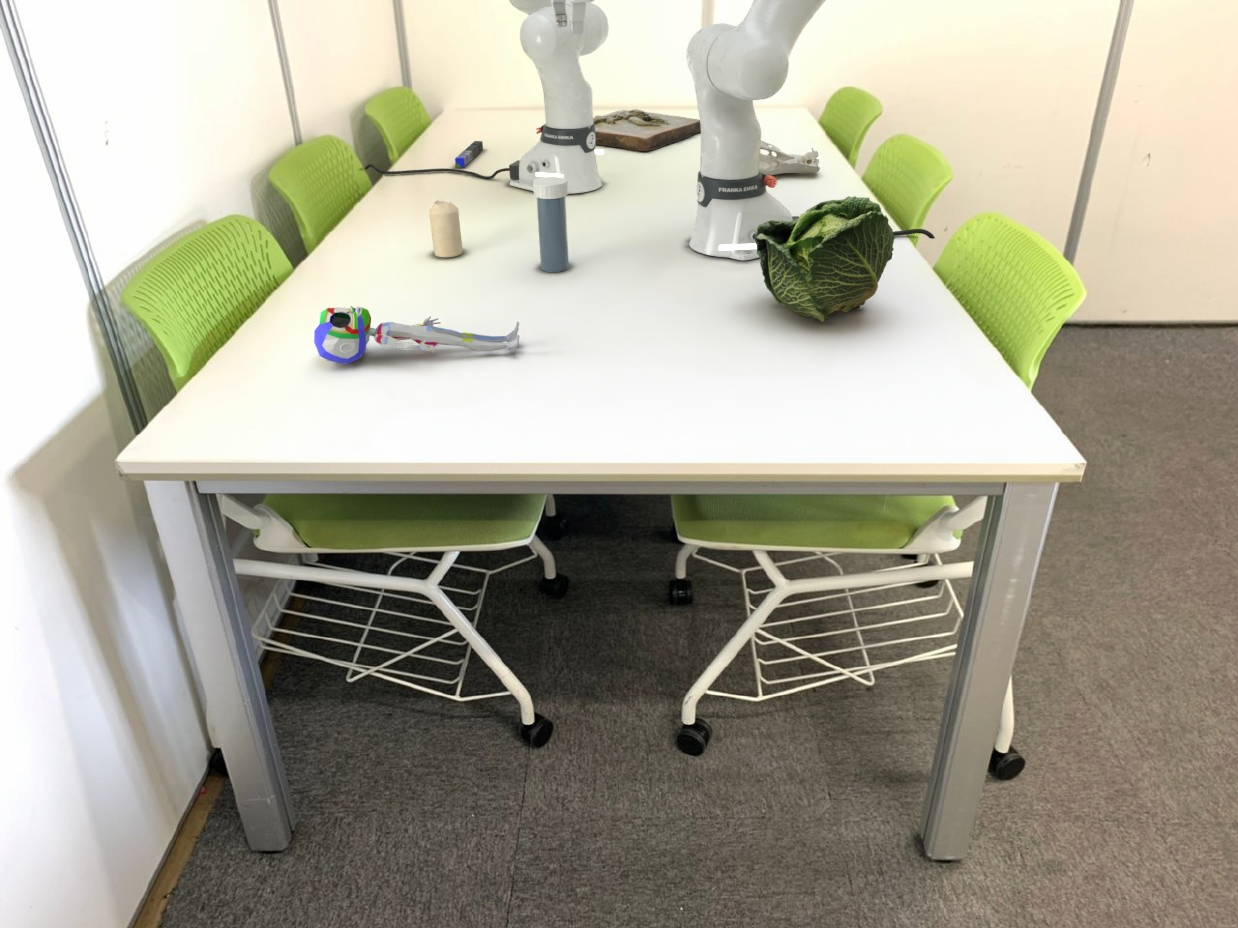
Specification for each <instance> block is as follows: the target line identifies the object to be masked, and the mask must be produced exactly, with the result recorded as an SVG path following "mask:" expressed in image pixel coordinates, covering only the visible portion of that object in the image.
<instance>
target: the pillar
mask: <svg viewBox="0 0 1238 928" xmlns="http://www.w3.org/2000/svg"><path fill="white" fill-rule="evenodd" d="M483 150H484V145H483V141H482V140H474V141H473V142H471V144H470V145H468V146H467V147H466V148H465V149H463V151H462V152H461V153H460V154H458V155H457V156H456V157H455V158H454V163H455V169H458V168H465V167H466V166H467V165H469V163H471V162H472V160H474V159H475V158H476V157H477V156H478V155H479V154H480V153H481V152H482V151H483Z"/></svg>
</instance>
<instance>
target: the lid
mask: <svg viewBox="0 0 1238 928" xmlns="http://www.w3.org/2000/svg"><path fill="white" fill-rule="evenodd" d="M533 183H534V184H533V191H532V192H533V196H534V197H535V198H536V199H537V198H541V199H557V198H562V197H567V195H568V194H567V193H568V184H567V180H566V179H565V178H562V177H541V178H538V179H535V180H534V181H533Z"/></svg>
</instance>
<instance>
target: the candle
mask: <svg viewBox="0 0 1238 928" xmlns="http://www.w3.org/2000/svg"><path fill="white" fill-rule="evenodd" d="M459 214H460V212H459V208H458V206H456V204H454V203H453V202H451V201H445V200H436V201H434V202H433V204H431V206H430V208H429V209H428V215H429V223H430V230H431V240H432V246H433V247H432V248H433V252H434V255H435V256H436V257H439V258H453V257H457V256H460V255H462V254H463V252H464V251H463V240H462V231H461V224H460V222H461V221H460V215H459Z"/></svg>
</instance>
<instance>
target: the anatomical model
mask: <svg viewBox="0 0 1238 928" xmlns="http://www.w3.org/2000/svg"><path fill="white" fill-rule="evenodd" d="M760 150H764V151H767V152H768V154H763V153H761V152H760V162H759V171H760V172H762V173H763V174H765V175H771V176H775V175H780V174H793V173H794V174H807V175H808V174H814V173H818V172H819V171H820V170H821V167H820V166H819V164H820V159H819V158H818V157H819V152H818V150H814V147H811V152H810V151H807V152H806V153H805V154H793V153H787V152H784V151H782V150H781V149H780V148H779V147H777V146H776V145H774V144H771V143H769V142H766V141H765V140H761V147H760ZM773 153H775V154H776V156H775V155H773Z"/></svg>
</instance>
